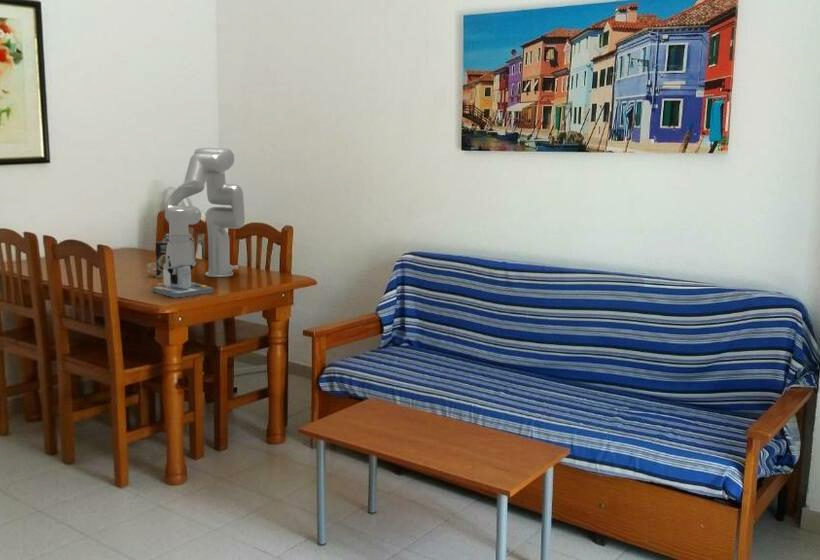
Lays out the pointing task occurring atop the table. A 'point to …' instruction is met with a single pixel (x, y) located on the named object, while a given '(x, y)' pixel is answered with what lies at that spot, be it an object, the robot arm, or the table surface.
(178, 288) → the panel
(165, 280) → the toggle
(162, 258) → the coffee box
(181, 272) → the medicine box
